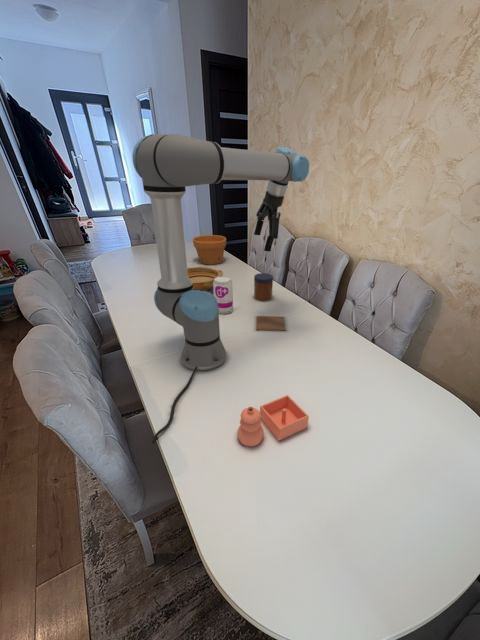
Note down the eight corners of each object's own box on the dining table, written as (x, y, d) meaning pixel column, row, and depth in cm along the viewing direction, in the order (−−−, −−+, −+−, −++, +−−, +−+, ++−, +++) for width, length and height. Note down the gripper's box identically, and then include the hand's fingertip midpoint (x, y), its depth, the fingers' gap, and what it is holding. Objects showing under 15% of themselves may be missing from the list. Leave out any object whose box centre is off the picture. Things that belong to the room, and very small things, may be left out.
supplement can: (230, 315, 136) (229, 283, 128) (212, 313, 138) (210, 281, 129) (235, 307, 143) (234, 276, 135) (218, 306, 144) (216, 275, 136)
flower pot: (187, 262, 200) (185, 238, 192) (210, 255, 214) (208, 233, 206) (212, 268, 190) (210, 244, 182) (233, 260, 205) (232, 237, 197)
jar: (272, 301, 150) (273, 280, 145) (254, 301, 150) (254, 280, 145) (271, 294, 158) (272, 274, 152) (254, 293, 158) (254, 274, 152)
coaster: (285, 330, 126) (285, 329, 125) (256, 330, 125) (256, 329, 125) (283, 317, 136) (283, 316, 135) (256, 317, 136) (256, 316, 135)
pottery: (286, 405, 88) (289, 379, 83) (307, 427, 82) (311, 399, 76) (230, 429, 80) (229, 401, 75) (248, 455, 74) (248, 426, 68)
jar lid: (273, 283, 145) (273, 279, 144) (254, 283, 145) (254, 279, 144) (272, 277, 153) (272, 273, 152) (254, 276, 153) (254, 273, 152)
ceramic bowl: (183, 303, 146) (181, 287, 142) (162, 287, 162) (160, 273, 158) (234, 289, 162) (234, 275, 158) (211, 276, 178) (210, 263, 173)
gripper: (296, 208, 115) (279, 258, 130) (272, 181, 130) (260, 229, 145) (278, 206, 112) (263, 257, 127) (256, 179, 127) (245, 227, 142)
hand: (261, 242), depth 136 cm, fingers open, 13 cm apart
